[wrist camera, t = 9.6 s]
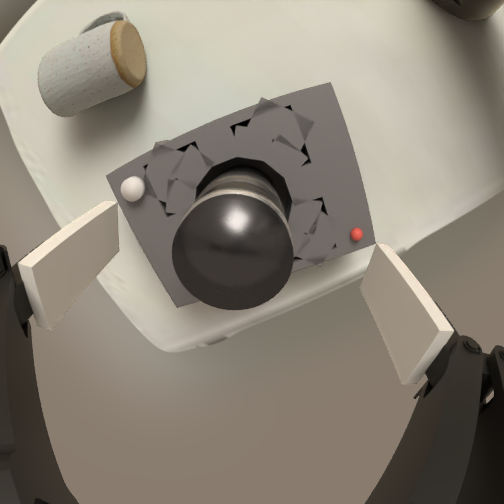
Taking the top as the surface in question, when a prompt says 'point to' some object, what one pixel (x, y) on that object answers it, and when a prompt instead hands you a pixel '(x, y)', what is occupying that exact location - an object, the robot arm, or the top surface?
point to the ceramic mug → (92, 66)
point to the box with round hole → (266, 159)
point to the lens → (234, 241)
